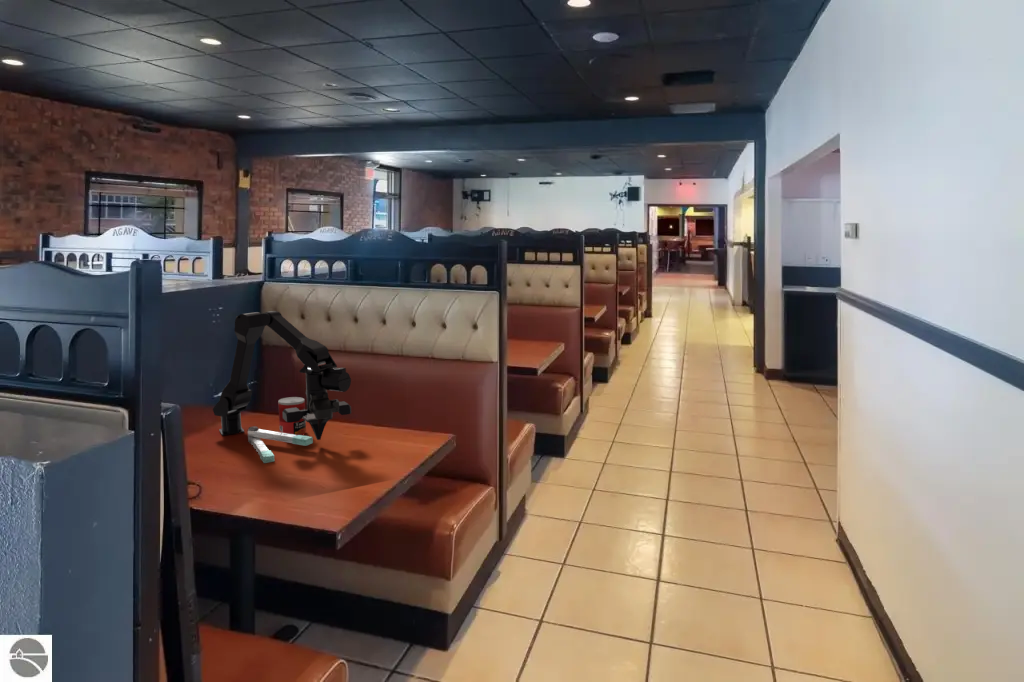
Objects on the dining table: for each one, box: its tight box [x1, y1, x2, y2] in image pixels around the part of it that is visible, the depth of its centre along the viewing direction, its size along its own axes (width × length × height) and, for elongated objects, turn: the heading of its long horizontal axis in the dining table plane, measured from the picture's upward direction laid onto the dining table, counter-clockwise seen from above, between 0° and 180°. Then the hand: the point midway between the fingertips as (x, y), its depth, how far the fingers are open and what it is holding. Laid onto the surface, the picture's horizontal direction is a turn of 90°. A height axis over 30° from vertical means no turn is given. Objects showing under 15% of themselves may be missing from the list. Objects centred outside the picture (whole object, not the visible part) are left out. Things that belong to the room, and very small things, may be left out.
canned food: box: [277, 396, 307, 436], centre depth 200 cm, size 8×8×11 cm
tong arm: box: [247, 425, 314, 447], centre depth 189 cm, size 23×3×2 cm, turn 68°
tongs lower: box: [247, 436, 276, 464], centre depth 185 cm, size 23×3×2 cm, turn 33°
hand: (318, 439), depth 190 cm, fingers closed
